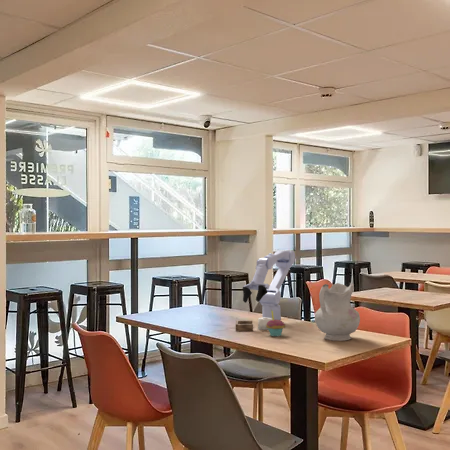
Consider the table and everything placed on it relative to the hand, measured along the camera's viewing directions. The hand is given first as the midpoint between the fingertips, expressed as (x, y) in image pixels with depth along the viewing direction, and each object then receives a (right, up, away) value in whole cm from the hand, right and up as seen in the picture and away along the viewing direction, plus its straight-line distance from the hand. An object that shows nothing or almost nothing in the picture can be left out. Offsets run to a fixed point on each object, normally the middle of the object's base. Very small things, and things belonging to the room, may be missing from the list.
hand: (250, 301), depth 272 cm
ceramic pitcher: (+36, -13, -24) cm, 46 cm away
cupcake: (+11, -13, -15) cm, 23 cm away
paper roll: (+7, -13, +1) cm, 15 cm away
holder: (-3, -13, +1) cm, 14 cm away
